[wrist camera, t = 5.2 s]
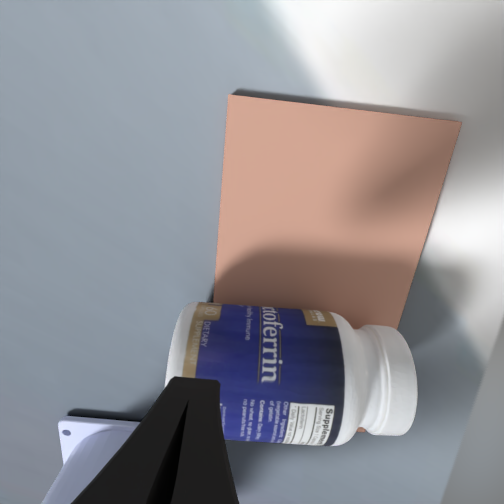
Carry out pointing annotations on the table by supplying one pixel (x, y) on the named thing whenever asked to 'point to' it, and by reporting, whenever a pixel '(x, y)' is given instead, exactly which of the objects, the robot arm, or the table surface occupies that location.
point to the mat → (326, 207)
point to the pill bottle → (296, 373)
